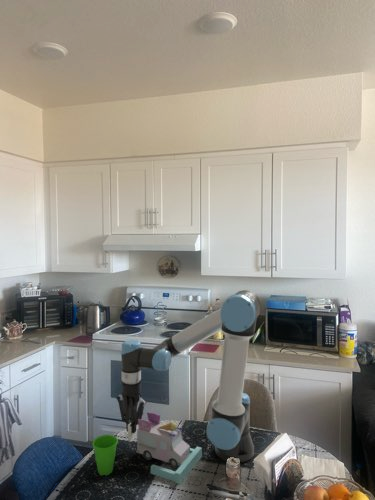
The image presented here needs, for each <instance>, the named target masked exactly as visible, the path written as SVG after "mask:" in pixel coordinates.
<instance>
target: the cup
mask: <svg viewBox="0 0 375 500" xmlns="http://www.w3.org/2000/svg"><path fill="white" fill-rule="evenodd" d="M118 443H119V440H118V438H117V436H115V435H113V434H103V435H100V436H97V437H95V438H94V439H93V440H92V443H91V445H92V446H93V452H94V456H95V457H94V458H95V463H96V468H97V473H98V474H99V475H100V476H103V475H105V476H109V475H110V473H111V474H112V473H113V471H114V466H115V465H114V464H115V458H116V451H117V445H118Z"/></svg>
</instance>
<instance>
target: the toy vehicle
mask: <svg viewBox="0 0 375 500" xmlns="http://www.w3.org/2000/svg"><path fill="white" fill-rule="evenodd" d="M146 414H147V420H146V419H141V420H140V419H138V424H137V425H138V428H136V433H137V434H136V436H137V437H136V439H137V440H136V446H137V447H136V448H137V449H136V450H135V452H136V454H141V456H142V458H144V459H145V460H146V461H151V460H152V459H155V460H156V459H157V460H159V461H162V462H166V463H168V464H169V467H171V468H172V469H178V468H179V467H180V466H181V465H182V463H183V462H184V461H185V460H186V459H187V458H188V456H189V455H190V454H191V453H190V448H191V446H190V445H189V443H187V442H186V441H184V435H183V434H182V430H183V427H181V426H179V427H178V424H177V423H176V422H175V421H170V422H169V423H166V424H162V423H160V422H161V415H160V414H157V413H155V412H149V411H147V412H146Z"/></svg>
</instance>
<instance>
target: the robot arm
mask: <svg viewBox="0 0 375 500" xmlns="http://www.w3.org/2000/svg"><path fill="white" fill-rule="evenodd" d="M261 310H262V302H261V299H260V298H259V296H258V295H257V294H256V293H254V292H253V291H250V290H246V289H245V290H243V289H242V290H240V291H237V292H236V293H234V294H233V295H230V296H229V297H227V298H226V299H225V301H223V303H222V305H221V307H220V308H219V309H217V310H215V311H213V312H211V313H210V314H208V315H206V316H205V317H203V318H201V319H200V320H197V321H196V322H194V323H192V324H191V325H189V326H187V327H186V328H184V329H181V331H179V332H177V333H176V334H173V335H172V336H170V337H169V338H166V339H164V340H162V342H159V344H157V345H156V346H154V347H152V348H149V347H142V344H141V341H140V340H137V339H129V340H126V341H123V342H122V344H121V352H120V355H121V394H119V395H118V396H116V401H117V403H118V407H119V411H120V418H121V421H122V422H125V425H126V429H125V430H126V432H127V441H128V442H129V443H132V442H133V441H134V440H135V439H136V433H137V425H138V419H140V420H143V419H142V418H143V414H144V409H145V406H146V405H147V400H146V399H143V398H142V394H141V390H142V381H141V380H142V369H147V370H154V371H158V372H159V371H164V372H165V371H168V370H169V368H170V366H171V365H172V359H173V358H174V357H176V356H178V355H180V354H181V353H184V352H185V351H187V350H188V349H190V348H192V347H193V346H195V345H198V344H199V343H201V342H203V341H205V340H206V339H208V338H210V337H212V336H214V335H216V334H217V333H219V332H222V333H223V334H224V341H223V349H222V357H221V367H220V375H219V381H218V382H219V384H218V391H217V398H216V399H215V400H214V401H213V402H212V406H211V407H212V408H211V413H210V420H209V421H208V423H207V424H206V425H207V426H206V437H207V438H208V440H209V441H210V442H211V444H212V445H213V446H214V451H215V454H216V455H217V456H218V457H219V458H220V459H221V460H223V461H226V460H227V459H228V458H230V457H234V458H239V459H240V461H241V462H240V463H244V462H247V461H249V460H251V459H252V458H253V457H254V455H255V446H254V442H253V439H252V436H251V432H250V417H251V416H250V414H251V413H250V412H251V411H250V408H251V407H250V406H251V402H250V401H251V400H250V396H249V394H247V393H244V387H245V385H244V384H245V377H246V369H247V361H248V355H249V354H248V352H249V345H250V339H251V338H253V337H254V336H255V334H256V333H255V332H256V326H257V320H258V319H257V318H258V317H259V315H260V313H261Z"/></svg>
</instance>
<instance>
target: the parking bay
mask: <svg viewBox="0 0 375 500" xmlns="http://www.w3.org/2000/svg"><path fill="white" fill-rule="evenodd" d="M202 448H203V447H200V446H196V447H195V448H191V447H190V453H191V454H190V455H189V456H188V458H187V459H186V460H185V461H184V462H183V463H182V465H181V466H178V467H177V468H176V470H175V471H174V470H172V469H169V468H166V467H164V466H163V467H162V466H159V465H156V464H152V465H151V466H150V474H151V475H154V476H157V477H160V478H163V479H166V480H168V481H173V482H174V483H175V484H178V485H180V484H182V482H183V481H184V479H185V478H186V477H187V476H188V475H189V474H190V472H191V471H192V470H193V469H194V467H195V466H196V464H197V463H199V461H200V459H202V457H203V449H202Z"/></svg>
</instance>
